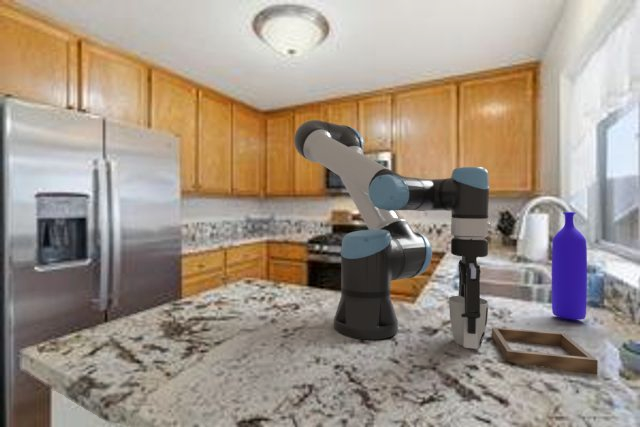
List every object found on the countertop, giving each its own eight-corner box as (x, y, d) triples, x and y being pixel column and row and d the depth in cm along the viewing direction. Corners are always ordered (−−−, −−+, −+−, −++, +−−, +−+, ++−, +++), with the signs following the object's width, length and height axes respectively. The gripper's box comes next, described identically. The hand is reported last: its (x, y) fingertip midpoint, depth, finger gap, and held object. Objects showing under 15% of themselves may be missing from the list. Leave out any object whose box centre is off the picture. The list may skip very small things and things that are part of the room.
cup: (492, 353, 73) (493, 306, 73) (451, 350, 75) (452, 303, 74) (482, 339, 81) (483, 296, 81) (445, 336, 83) (446, 294, 82)
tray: (507, 364, 69) (507, 351, 69) (491, 337, 83) (491, 327, 83) (597, 373, 65) (597, 360, 65) (564, 344, 79) (564, 333, 79)
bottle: (555, 318, 99) (555, 211, 99) (548, 310, 106) (549, 211, 106) (591, 321, 96) (591, 211, 95) (581, 313, 103) (582, 211, 103)
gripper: (498, 242, 67) (496, 361, 67) (479, 235, 86) (478, 327, 87) (456, 241, 69) (454, 357, 69) (447, 234, 88) (446, 324, 89)
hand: (467, 340), depth 78 cm, fingers closed on cup, 7 cm apart
